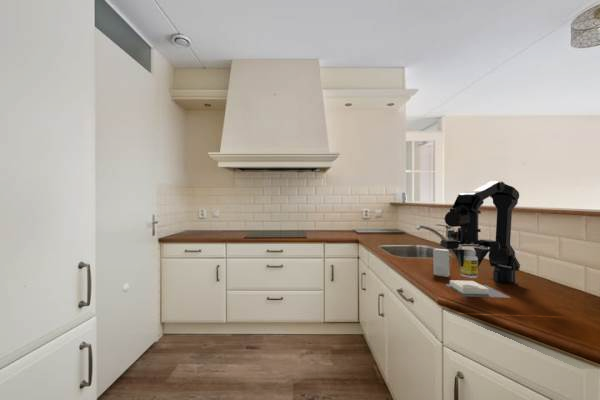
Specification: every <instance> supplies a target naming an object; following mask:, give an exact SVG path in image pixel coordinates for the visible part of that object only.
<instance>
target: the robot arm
mask: <svg viewBox="0 0 600 400" xmlns="http://www.w3.org/2000/svg"><path fill="white" fill-rule="evenodd" d="M489 197H490V198H491V199H492V204H493V205H494V207H495V208H496V225H495V226H496V227H495V240H493V239H479V233H481V232H482V231H481V228H479V214H480V215H481V214H482V211H480V210H479V208H480V207H482V205H483V204H484V203H485V202H484V201H485V200H486V199H488V198H489ZM519 198H520V192H519V191H518V190H517V189H516V188H515V187H514V186H512V185H508V184H506V183H505V182H504V181H500V180H497V181H488V182H487V183H486V184H484V185H482V186H480V187H478V188H476V189H475V190H471V191H465V192H460V193H459V194H458V195H457V197H456V199H455V201H454V203H453V205H452V207H451V208H449V211H448V212H447V213H446V214H445V216H444V223H445V224H446V225H447V226H448V227H450V228H456V227H458V228H457V231H454V230H453V229H452V230H450V229H449V230H447V234H446V235H447V238H442V239H441V241H440V244H439V245H440V247H443V248H445V249H447V250H449V249H450V250H452V251H453V253H454V255H455V256H456V259H457V262H458V264H459V267H460V268H461V267H463V261H464V248H462V247H472V248H473V250H475V251H476V255H475V256H476V257H477V258H478V268H479V266H480V265H481V264H482V262H483V260H484V259H485V257H486V256H487V255H488V262H489V265H490V267H493V268H494V269H493V272H492V273H493V274H492V275H493V276H492V278H491V280H492V281H495V282H497V283H499V284H500V285H501V284H502V285H519V283H518V282H516V271H517V272H518V271H519V270H520V268H521V264H520V262H519V260H518V259H517V256H516V251H515V250H514V248H513V247H512V245H511V237H512V236H511V234H512V217H513V215H512V212H513V210H514V209H515V207H516V206H517V205H518V202H519ZM519 272H520V271H519Z"/></svg>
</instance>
